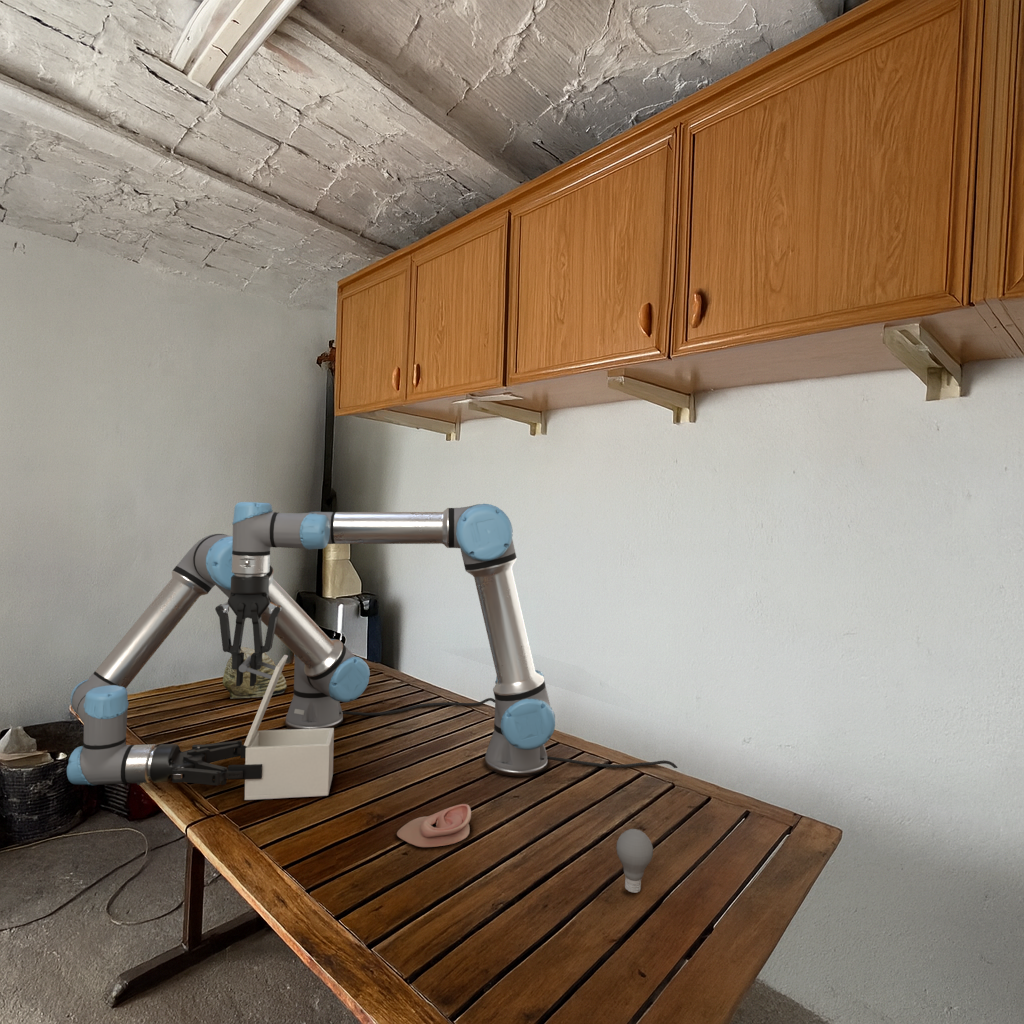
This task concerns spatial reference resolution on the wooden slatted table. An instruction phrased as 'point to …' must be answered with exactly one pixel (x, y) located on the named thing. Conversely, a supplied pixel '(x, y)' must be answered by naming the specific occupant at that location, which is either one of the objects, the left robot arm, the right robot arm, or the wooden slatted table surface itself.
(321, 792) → the chest
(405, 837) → the anatomical model
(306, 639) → the left robot arm
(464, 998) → the wooden slatted table surface
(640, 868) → the light bulb
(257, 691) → the fossil
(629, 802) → the wooden slatted table surface
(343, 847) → the wooden slatted table surface
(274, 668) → the lid
